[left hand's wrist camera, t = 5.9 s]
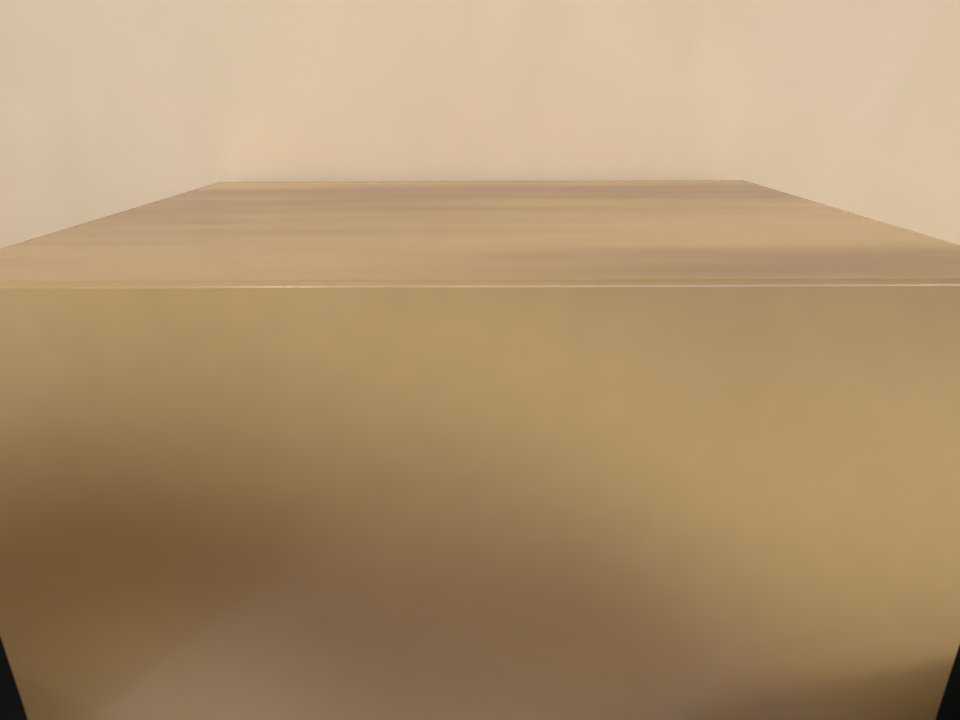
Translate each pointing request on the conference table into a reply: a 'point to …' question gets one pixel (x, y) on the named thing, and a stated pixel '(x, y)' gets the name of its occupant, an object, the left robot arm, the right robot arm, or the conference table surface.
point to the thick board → (480, 456)
